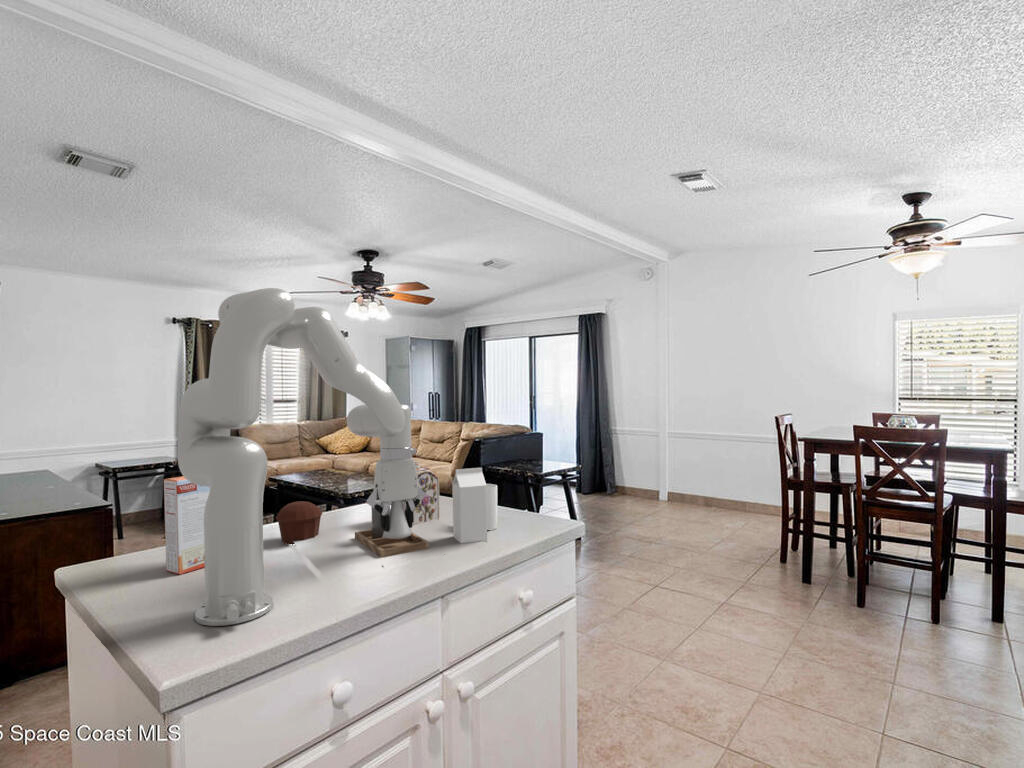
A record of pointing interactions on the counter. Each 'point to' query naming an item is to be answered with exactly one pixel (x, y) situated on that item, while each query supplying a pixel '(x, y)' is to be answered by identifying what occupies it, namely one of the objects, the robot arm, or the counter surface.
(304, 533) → the muffin
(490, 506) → the mug
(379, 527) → the pepper shaker
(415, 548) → the caddy
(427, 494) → the decorative jar
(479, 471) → the milk carton
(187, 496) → the cracker box
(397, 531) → the flask
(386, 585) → the counter surface
